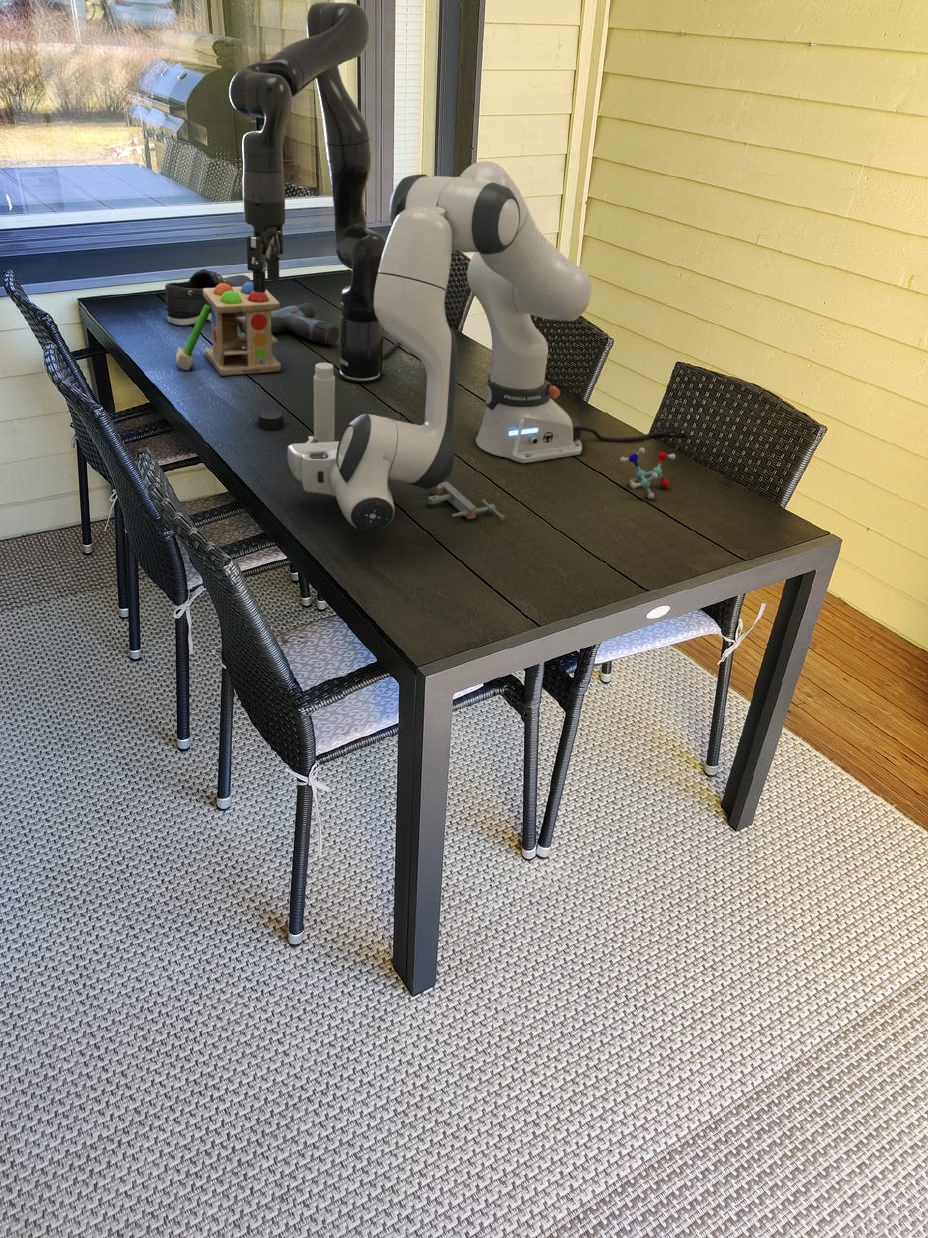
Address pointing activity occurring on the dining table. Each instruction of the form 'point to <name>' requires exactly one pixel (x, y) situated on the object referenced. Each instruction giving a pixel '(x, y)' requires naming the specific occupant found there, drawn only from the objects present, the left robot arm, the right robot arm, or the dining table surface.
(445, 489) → the clamp
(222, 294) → the pounding bench toy
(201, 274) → the boat shoe
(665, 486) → the molecular model
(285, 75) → the left robot arm
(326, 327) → the power drill
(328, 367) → the jar
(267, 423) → the lid
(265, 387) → the dining table surface
